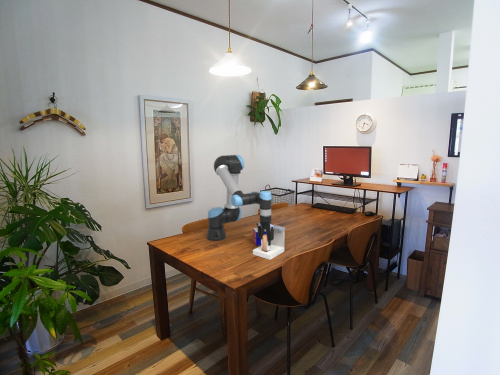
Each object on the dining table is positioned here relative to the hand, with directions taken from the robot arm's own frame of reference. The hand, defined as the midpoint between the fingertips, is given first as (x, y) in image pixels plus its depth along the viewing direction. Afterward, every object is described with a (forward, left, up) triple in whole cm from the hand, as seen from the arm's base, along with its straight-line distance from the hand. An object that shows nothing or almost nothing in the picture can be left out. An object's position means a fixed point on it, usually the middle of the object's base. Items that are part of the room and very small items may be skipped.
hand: (265, 249), depth 181 cm
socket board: (0, +3, -4) cm, 5 cm away
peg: (0, 0, -3) cm, 3 cm away
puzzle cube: (-16, +15, -4) cm, 23 cm away
